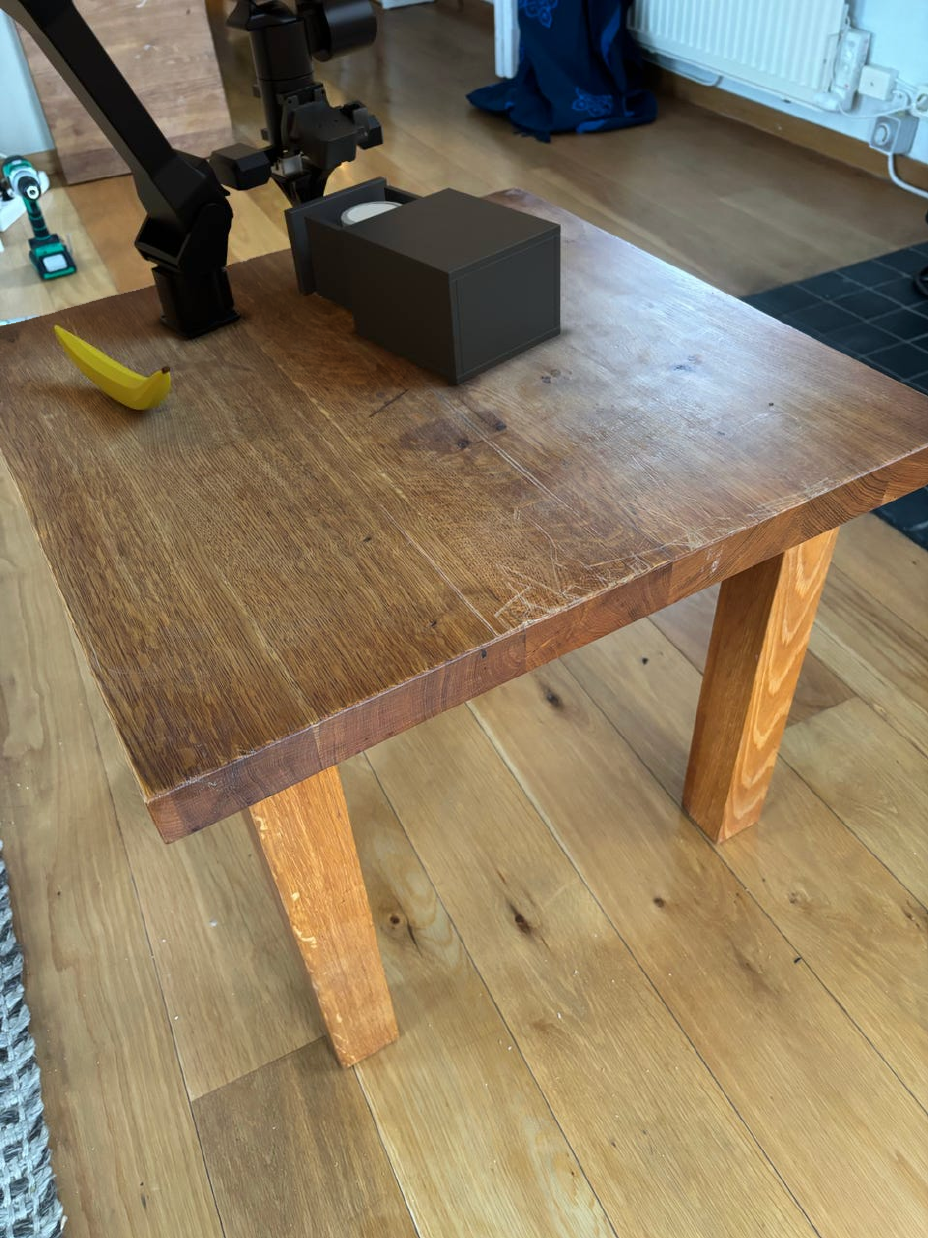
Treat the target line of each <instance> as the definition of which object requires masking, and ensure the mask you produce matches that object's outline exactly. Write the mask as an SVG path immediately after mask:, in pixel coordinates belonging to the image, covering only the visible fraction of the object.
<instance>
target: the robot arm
mask: <svg viewBox="0 0 928 1238" xmlns="http://www.w3.org/2000/svg"><path fill="white" fill-rule="evenodd" d="M0 10H1V11H2V12H4V13H5V14H6V15H8V16H9V17H10V18H11V19H13V20H14V21H15V22H16V23H17V24H19V25H20V26H21V28H23V29H24V30H25V31H26V32H27V33H28V35H29V36H30V37H31V39H32V40H33V42H35V45H37V47H38V48H39V49H40V51H41V52H42V53H43V55H44V56H45V57H46V59H47V60H48V62H49V63H50V64H51V65H52V67H53V68H54V70H55V71H56V72H57V73H58V75H59V76H60V77H61V79H62V80H63V82H64V83H65V84H66V86H67V87H68V88H69V90H70V92H72V93H73V95H74V96H75V97H76V99H77V100H78V102H79V103H80V104H81V105H82V107H83V108H84V109H85V112H86V113H88V115H89V116H90V117H91V119H92V120H93V121H94V123H95V124H96V126H97V128H99V130H100V131H101V133H102V134H103V135H104V136H105V138H106V139H107V140H108V142H109V143H110V144H111V146H112V148H114V150H115V151H116V152H117V154H118V155H119V156H120V158H121V159H122V160H123V161H124V163H125V165H127V167H128V168H129V171H130V172H131V175H132V178H133V182H134V186H135V190H136V195H137V198H138V199H139V201H140V203H141V205H142V206H143V209H144V211H145V213H146V215H145V217H144V220H143V222H142V224H141V226H140V228H139V230H138V232H137V234H136V237H135V239H134V241H133V246H134V248H135V249H136V251H138V253H139V255H140V256H141V258H142V259H143V260H144V261H145V262H150V263H153V264H154V265H156V266H154V267H150V270H151V274H152V277H153V278H152V279H153V282H154V284H155V288H156V291H157V294H158V298H159V301H160V305H161V308H162V309H161V310H162V312H163V314H161V315H160V316H159V317H158V321H159V323H161V324H163V325H165V327H167V328H169V329H171V330H172V331H174V332H175V333H177V334H179V335H181V336H182V337H184V338H186V339H193V338H196V337H198V336H201V335H203V334H205V333H208V332H210V331H214V330H215V329H218V328H221V327H223V326H225V325H227V324H230V323H233V322H235V321H238V320H240V319H241V318H242V316H241V313H240V312H239V311H237V310H236V309H233V308H235V305H236V304H235V299H234V295H233V291H232V288H231V283H230V279H229V275H228V271H227V269H226V268H224V267H227V265H228V255H229V253H228V251H229V240H230V239H229V236H230V233H231V229H232V225H233V219H234V216H235V215H234V210H233V208H232V205H231V203H230V201H229V200H228V199H227V197H230V196H231V195H232V193H231V191H229V190H228V189H227V188H225V187H228V188H230V189H232V190H235V191H237V192H244V191H249V190H251V189H254V188H257V187H260V186H263V185H267V184H268V183H269V181H270V179H272V180H273V182H274V183H275V184H276V186H277V187H278V188H279V189H280V191H281V192H282V193H283V195H284V196H285V198H286V199H287V202H288V203H289V204H290V206H291V208H292V207H294V206H297V205H300V204H303V203H306V202H309V201H311V200H314V199H317V198H320V197H323V196H325V190H326V187H327V183H328V180H329V177H330V176H331V175H332V174H333V172H334V171H335V170H336V169H338V167H341V166H342V164H343V163H351V162H354V161H355V160H356V158H357V149H358V148H359V149H360V150H362V151H367V150H369V149H373V148H374V147H375V148H376V147H378V146H381V145H384V142H385V140H384V132H383V125H382V123H381V121H380V119H379V118H378V117H377V116H376V115H375V114H373V113H368V109H367V108H368V107H367V106H366V104H364V103H363V102H362V101H360V100H359V99H356V100H353V101H351V102H348V103H345V104H343V106H342V105H340V104H339V105H337V106H331V104H330V102H329V100H328V97H327V96H328V95H327V90H326V89H325V87H324V83H323V82H320V81H318V80H317V81H316V76H315V69H314V63H313V58H314V59H315V60H316V61H318V62H320V63H326V62H330V61H334V60H336V59H337V60H338V59H340V58H344V57H347V56H350V55H354V54H357V53H361V52H363V51H367V50H369V49H371V48H373V46H374V44H375V42H376V38H377V33H378V21H377V15H376V13H374V11H373V7H372V4H371V1H370V0H294V5H291V6H288V5H287V4H286V3H285V2H284V1H281V0H269V1H265V2H260V3H256V2H255V0H236V4H235V6H234V8H233V10H232V11H231V12H230V14H228V16H227V18H226V20H225V26H226V27H227V28H228V29H233V30H238V31H242V32H248V37H249V38H248V39H249V43H250V49H251V52H252V58H253V64H254V70H255V75H256V79H257V83H256V84H253V85H251V89H252V94H253V98H258V99H260V101H261V107H262V112H263V117H264V122H265V127H263V128H260V136H261V140H262V141H264V142H267V143H269V145H267V146H264V147H261V148H256V147H253V146H250V145H248V144H245V143H243V142H237V143H234V144H230V145H227V146H225V147H221V148H218V149H215V150H212V151H211V153H210V156H209V159H206V158H204V157H202V156H198V155H195V154H192V153H189V152H187V151H183V150H180V149H176V148H174V147H173V146H172V144H171V143H170V142H169V140H168V139H167V138H166V136H165V135H164V132H162V130H161V129H160V127H159V126H158V124H157V123H156V122H155V120H154V119H153V117H152V116H151V114H150V113H149V111H148V110H147V108H146V107H145V106H144V104H143V103H142V101H141V100H140V98H139V97H138V95H137V94H136V93H135V91H134V90H133V87H132V86H131V85H130V84H129V82H128V81H127V79H126V78H125V77H124V75H123V73H122V72H121V71H120V70H119V68H118V66H117V65H116V63H115V62H114V60H113V59H112V58H111V56H110V55H109V53H108V52H107V50H106V49H105V47H104V46H103V45H102V44H101V42H100V40H99V39H98V38H97V36H96V35H95V33H94V32H93V30H92V29H91V27H90V26H89V24H88V23H87V21H86V20H85V19H84V17H83V16H82V14H81V13H80V11H79V10H78V8H77V7H76V4H75V3H74V0H0ZM224 186H225V187H224Z"/></svg>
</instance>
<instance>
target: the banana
mask: <svg viewBox="0 0 928 1238" xmlns="http://www.w3.org/2000/svg"><path fill="white" fill-rule="evenodd" d="M53 330H54V333H55V337H56V339H57V341H58V342H59V344H60V346H61V348H62V349H63V351H64V352H65V354H66V356H67V357H68V359H69V360H71V362H72V363H73V364H74V365H75V366H76V368H77V369H78V370H79V371H80V372H81V374H83V375H84V376H85V377H86V378H87V379H88V380H89V381H90V382H92V384H93V385H95V386H96V387H97V388H99V389H100V390H101V391H102V392H104V393H105V394H106V395H107V396H109V397H111V398H112V399H113V400H114V401H116V402H118V403H120V404H122V405H124V406H126V407H128V408H130V409H132V410H137V411H144V410H145V411H146V410H153V409H156V408H157V407H159V405H161V403H162V402H163V401H165V399H166V398H167V397H168V396H169V394H170V391H171V387H172V379H171V372H170V371H171V367H170V366H169V365H165V366H163V367H162V368H161V370H157V371H155V372H154V373H152V375H150V376H149V377H146V376H143V375H142V374H139V373H137V372H135V371H134V370H131V369H129V368H128V367H125V366H124V365H123V364H121V363H119V362H117V361H116V360H114V359H113V358H111V357H109V356H108V355H106V354H105V353H103V352H102V351H100V349H97V348H96V347H94V346H93V345H91V344H89V343H88V342H86V341H85V340H83V339H81V338H79V337H78V336H76V335H75V334H73V333H71V332H70V331H67V330H66V329H65V328H62V327H61V326H59V325H56V324H55V325H54V326H53Z"/></svg>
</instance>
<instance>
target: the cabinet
mask: <svg viewBox="0 0 928 1238" xmlns="http://www.w3.org/2000/svg"><path fill="white" fill-rule="evenodd" d="M422 197H423V198H420V199H417V200H415V201H412V202H409V203H407V204H404V205H401V206H399V207H396V208H393V209H391V210H388V211H385V212H383V213H380V214H377V215H375V216H372V217H370V218H367V219H364V220H362V221H359V222H356V223H354V224H351V225H348V226H346V227H343V228H340V233H341V240H342V246H343V253H344V259H345V266H346V273H347V279H348V286H349V292H350V299H351V305H352V312H351V313H352V317H353V325H354V331H355V334H356V335H358V336H359V337H361V338H363V339H365V340H367V341H369V342H370V343H372V344H374V345H377V346H378V347H381V348H383V349H384V350H387V351H388V352H391V353H393V354H395V355H397V356H399V357H400V358H402V359H404V360H406V361H408V362H410V363H412V364H414V365H416V366H418V367H419V368H422V369H424V370H426V371H427V372H430V373H432V374H434V375H436V376H438V377H439V378H442V379H444V380H445V381H448V382H450V383H452V384H454V385H456V386H459V385H461V384H463V383H465V382H467V381H468V380H471V379H473V378H474V377H477V376H478V375H480V374H483V373H484V372H487V371H488V370H490V369H493V368H494V367H496V366H499V365H501V364H502V363H505V362H506V361H509V360H511V359H512V358H515V357H516V356H518V355H520V354H523V353H525V352H526V351H528V350H530V349H532V348H535V347H536V346H539V345H540V344H543V343H545V342H546V341H548V340H550V339H552V338H554V337H556V336H558V335H560V334H561V331H562V330H561V327H562V326H561V289H562V288H561V287H562V286H561V284H562V283H561V282H562V281H561V278H562V277H561V276H562V275H561V274H562V273H561V269H562V268H561V264H562V263H561V258H562V257H561V256H562V253H561V252H562V251H561V248H562V247H561V245H562V244H561V242H562V241H561V240H562V239H561V238H562V237H561V236H562V234H561V233H562V229H561V227H562V225H561V224H559V223H556V222H555V221H554V222H553V221H550V220H547V219H546V218H545V219H544V218H542V217H539V216H535V215H532V214H529V213H526V212H523V211H520V210H518V209H515V208H512V207H508V206H505V205H502V204H499V203H496V202H493V201H490V200H487V199H484V198H481V197H478V196H475V195H472V194H469V193H466V192H464V191H460V190H457V189H454V188H451V187H447V188H444V189H441V190H439V191H436V192H433V193H430V194H427V195H425V196H422Z"/></svg>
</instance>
